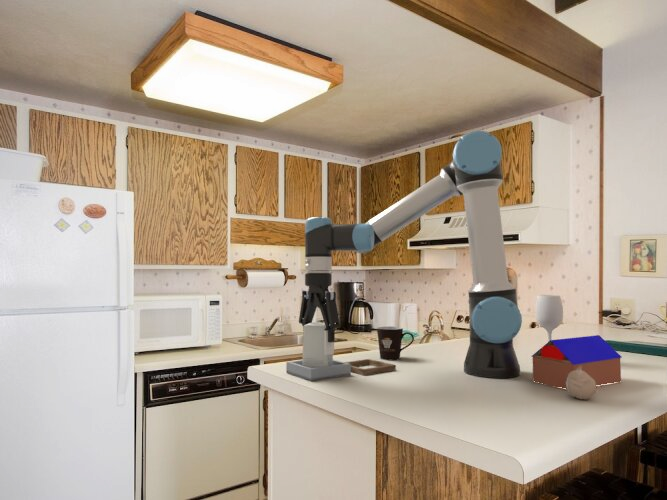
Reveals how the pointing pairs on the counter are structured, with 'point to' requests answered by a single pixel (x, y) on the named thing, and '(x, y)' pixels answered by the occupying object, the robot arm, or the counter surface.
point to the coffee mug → (391, 342)
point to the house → (576, 361)
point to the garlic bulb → (580, 384)
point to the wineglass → (549, 312)
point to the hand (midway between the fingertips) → (318, 351)
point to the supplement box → (315, 346)
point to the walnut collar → (378, 369)
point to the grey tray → (318, 370)
